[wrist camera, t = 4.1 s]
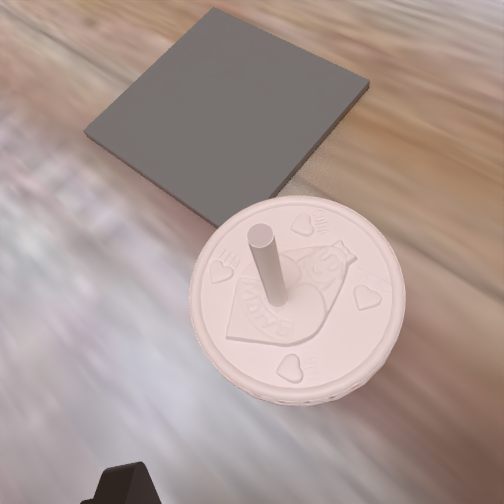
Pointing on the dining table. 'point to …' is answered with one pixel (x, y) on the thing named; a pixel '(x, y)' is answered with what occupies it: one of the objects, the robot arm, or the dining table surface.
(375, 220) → the dining table surface
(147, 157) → the coaster
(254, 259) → the smoothie
